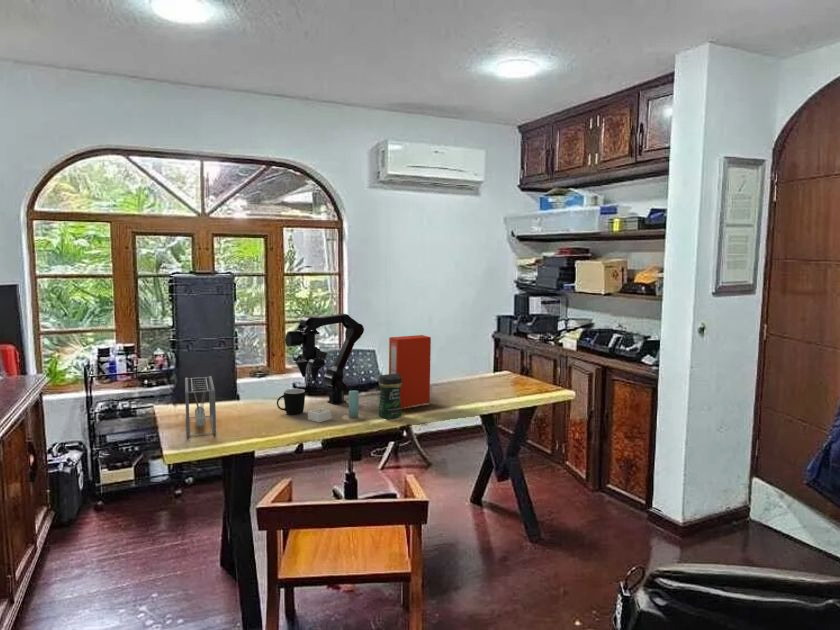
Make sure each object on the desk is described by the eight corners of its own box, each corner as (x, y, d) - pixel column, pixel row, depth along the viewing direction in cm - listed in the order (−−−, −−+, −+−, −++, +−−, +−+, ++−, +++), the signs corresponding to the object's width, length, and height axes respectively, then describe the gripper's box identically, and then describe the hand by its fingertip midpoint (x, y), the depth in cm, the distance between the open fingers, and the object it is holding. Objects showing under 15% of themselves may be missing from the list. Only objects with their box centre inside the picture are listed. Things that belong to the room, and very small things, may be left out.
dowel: (346, 417, 248) (346, 391, 246) (353, 415, 251) (353, 390, 249) (353, 418, 245) (353, 393, 244) (360, 416, 248) (360, 391, 247)
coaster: (353, 413, 255) (353, 412, 255) (370, 418, 249) (370, 416, 249) (336, 418, 247) (336, 417, 247) (353, 423, 241) (353, 421, 241)
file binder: (429, 405, 270) (430, 337, 267) (397, 410, 261) (397, 339, 258) (420, 401, 277) (421, 334, 273) (388, 406, 268) (389, 337, 264)
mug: (303, 410, 259) (303, 388, 258) (306, 415, 251) (306, 392, 250) (275, 412, 255) (275, 389, 254) (278, 418, 247) (277, 394, 246)
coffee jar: (384, 420, 245) (384, 377, 243) (375, 416, 252) (376, 373, 250) (404, 417, 250) (404, 374, 248) (395, 413, 257) (395, 371, 255)
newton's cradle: (186, 417, 246) (184, 376, 244) (212, 415, 250) (211, 374, 248) (186, 439, 219) (185, 392, 217) (216, 436, 222) (215, 390, 221)
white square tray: (320, 416, 250) (320, 407, 249) (331, 419, 245) (331, 410, 245) (308, 420, 244) (307, 411, 244) (319, 423, 240) (318, 413, 240)
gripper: (335, 345, 260) (335, 380, 262) (314, 340, 274) (314, 373, 276) (313, 348, 253) (313, 383, 254) (292, 342, 267) (292, 376, 269)
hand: (309, 378), depth 263 cm, fingers open, 9 cm apart
